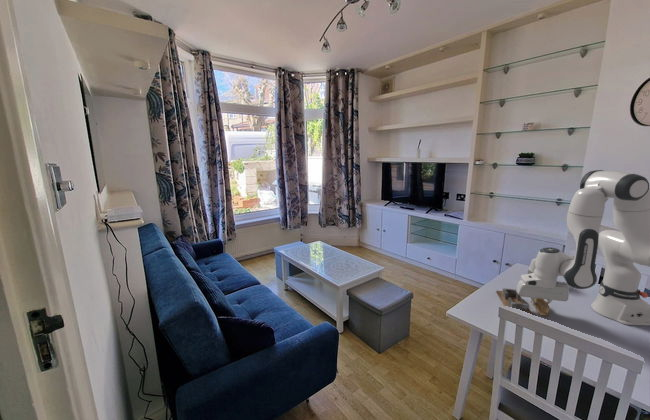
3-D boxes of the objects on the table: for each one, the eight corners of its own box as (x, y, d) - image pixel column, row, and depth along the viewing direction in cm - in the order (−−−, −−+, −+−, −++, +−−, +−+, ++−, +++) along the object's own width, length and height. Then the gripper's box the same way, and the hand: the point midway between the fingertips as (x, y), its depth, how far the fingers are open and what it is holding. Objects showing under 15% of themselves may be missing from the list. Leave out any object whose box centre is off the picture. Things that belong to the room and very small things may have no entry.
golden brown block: (537, 302, 137) (539, 293, 136) (547, 315, 127) (549, 306, 126) (530, 301, 138) (532, 293, 137) (540, 314, 128) (541, 305, 126)
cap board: (517, 294, 145) (518, 287, 144) (533, 317, 126) (534, 309, 125) (496, 292, 148) (497, 284, 146) (508, 314, 129) (510, 306, 128)
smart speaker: (530, 274, 165) (534, 253, 162) (548, 280, 158) (553, 258, 154) (524, 279, 160) (528, 257, 156) (543, 285, 153) (547, 263, 149)
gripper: (567, 279, 128) (561, 304, 132) (517, 274, 134) (513, 298, 138) (574, 286, 122) (568, 312, 126) (522, 281, 129) (517, 306, 132)
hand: (539, 305), depth 132 cm, fingers closed on golden brown block, 3 cm apart
